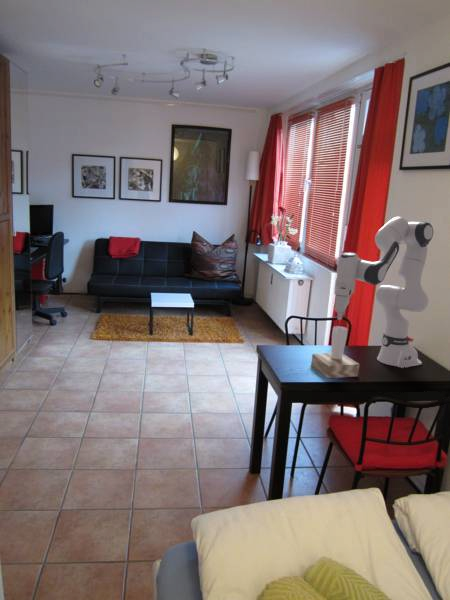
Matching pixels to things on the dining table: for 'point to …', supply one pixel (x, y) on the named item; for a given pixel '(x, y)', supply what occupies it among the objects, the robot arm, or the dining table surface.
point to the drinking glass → (338, 342)
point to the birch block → (334, 366)
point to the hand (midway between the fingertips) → (341, 317)
